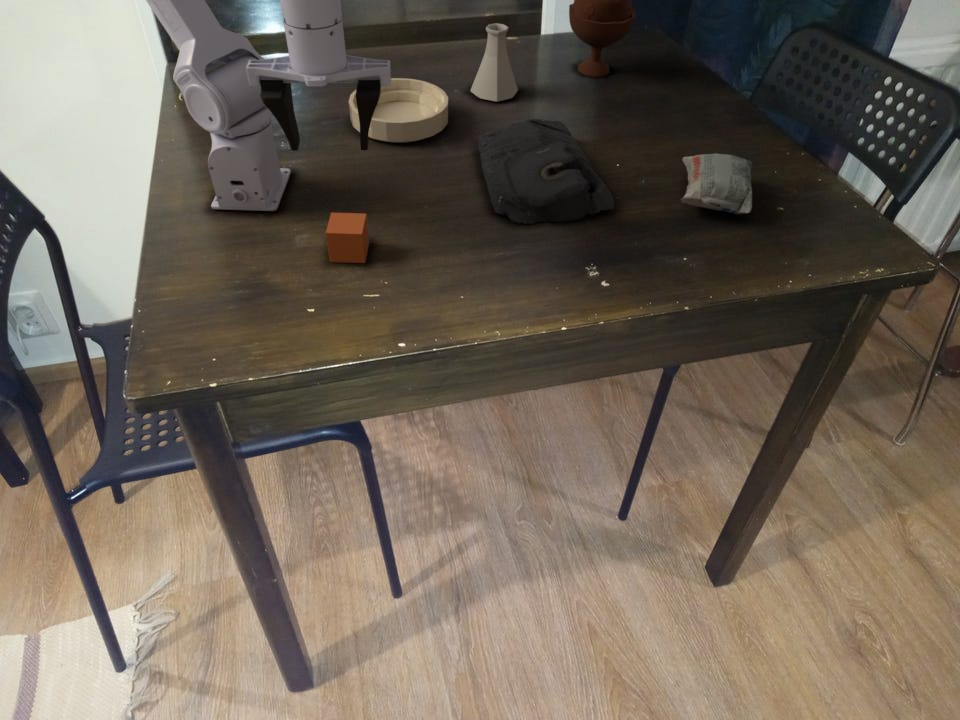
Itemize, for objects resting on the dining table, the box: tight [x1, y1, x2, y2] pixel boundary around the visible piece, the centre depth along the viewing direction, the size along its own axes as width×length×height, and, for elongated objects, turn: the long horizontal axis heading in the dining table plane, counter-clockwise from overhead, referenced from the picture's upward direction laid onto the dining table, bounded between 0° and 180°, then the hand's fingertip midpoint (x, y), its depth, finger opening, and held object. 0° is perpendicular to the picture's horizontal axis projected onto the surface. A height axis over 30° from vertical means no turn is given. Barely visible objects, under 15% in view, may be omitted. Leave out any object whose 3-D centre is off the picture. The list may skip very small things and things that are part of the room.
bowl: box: [348, 77, 449, 143], centre depth 102 cm, size 14×14×4 cm
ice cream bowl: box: [568, 0, 637, 78], centre depth 113 cm, size 11×11×15 cm
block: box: [325, 212, 370, 264], centre depth 79 cm, size 4×4×4 cm
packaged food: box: [680, 153, 753, 215], centre depth 89 cm, size 9×12×5 cm
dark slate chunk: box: [477, 118, 615, 225], centre depth 92 cm, size 15×22×5 cm
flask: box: [469, 22, 519, 103], centre depth 107 cm, size 7×7×10 cm
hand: (330, 146), depth 78 cm, fingers open, 7 cm apart
